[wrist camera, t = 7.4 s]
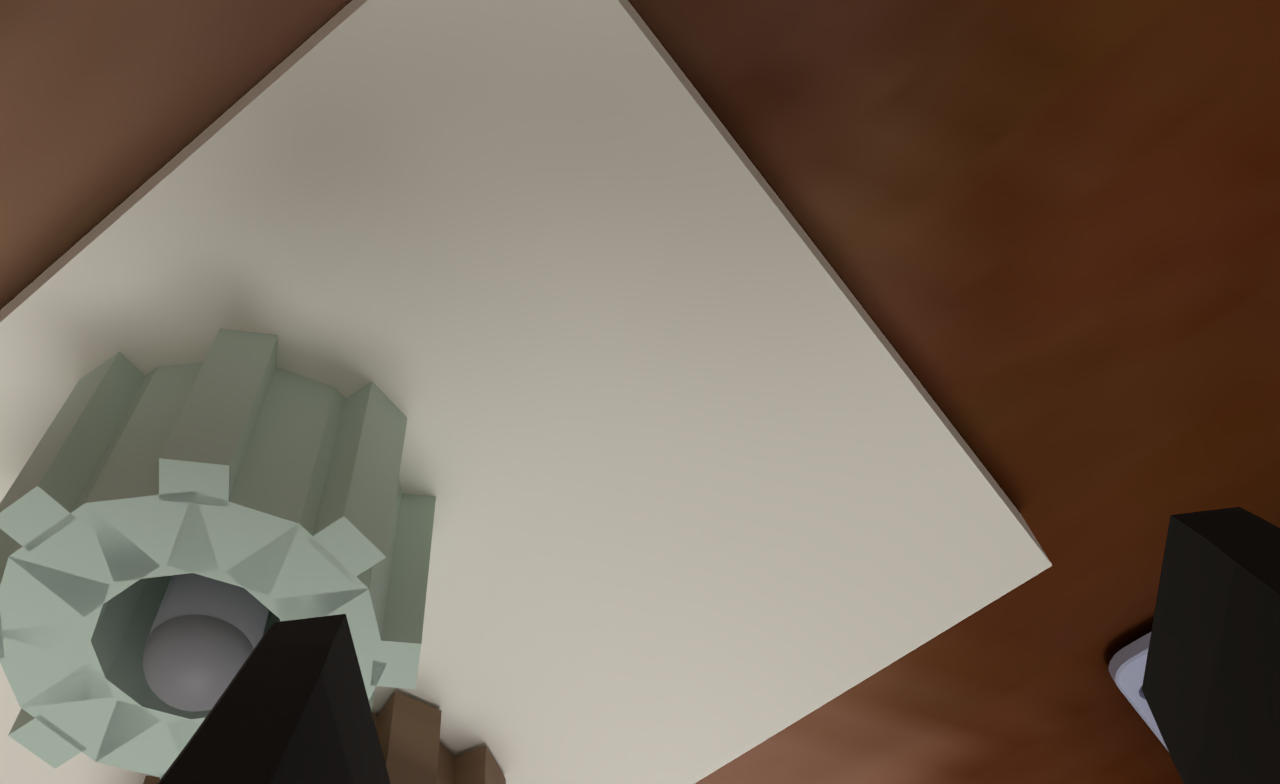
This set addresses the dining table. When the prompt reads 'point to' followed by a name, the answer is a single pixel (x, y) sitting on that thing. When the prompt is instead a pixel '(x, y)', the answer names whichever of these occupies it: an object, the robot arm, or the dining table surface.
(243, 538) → the sage gear
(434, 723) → the drive gear
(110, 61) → the dining table surface
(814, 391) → the gear board
